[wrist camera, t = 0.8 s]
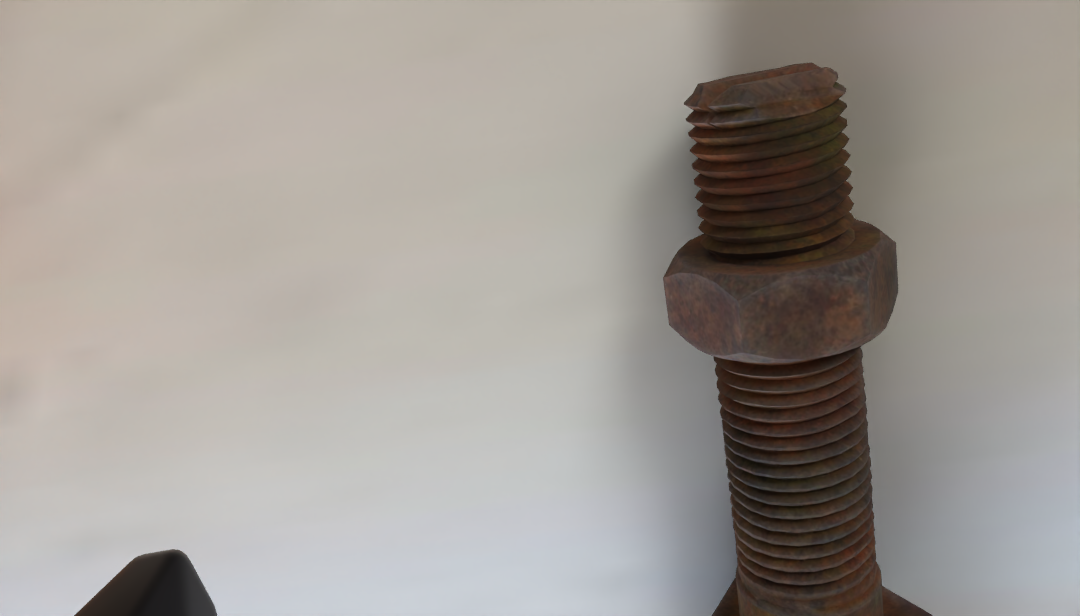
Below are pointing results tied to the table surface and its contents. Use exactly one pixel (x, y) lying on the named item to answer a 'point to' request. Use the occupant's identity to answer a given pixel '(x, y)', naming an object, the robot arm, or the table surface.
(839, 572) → the bolt
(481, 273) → the table surface
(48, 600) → the table surface
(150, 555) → the robot arm
